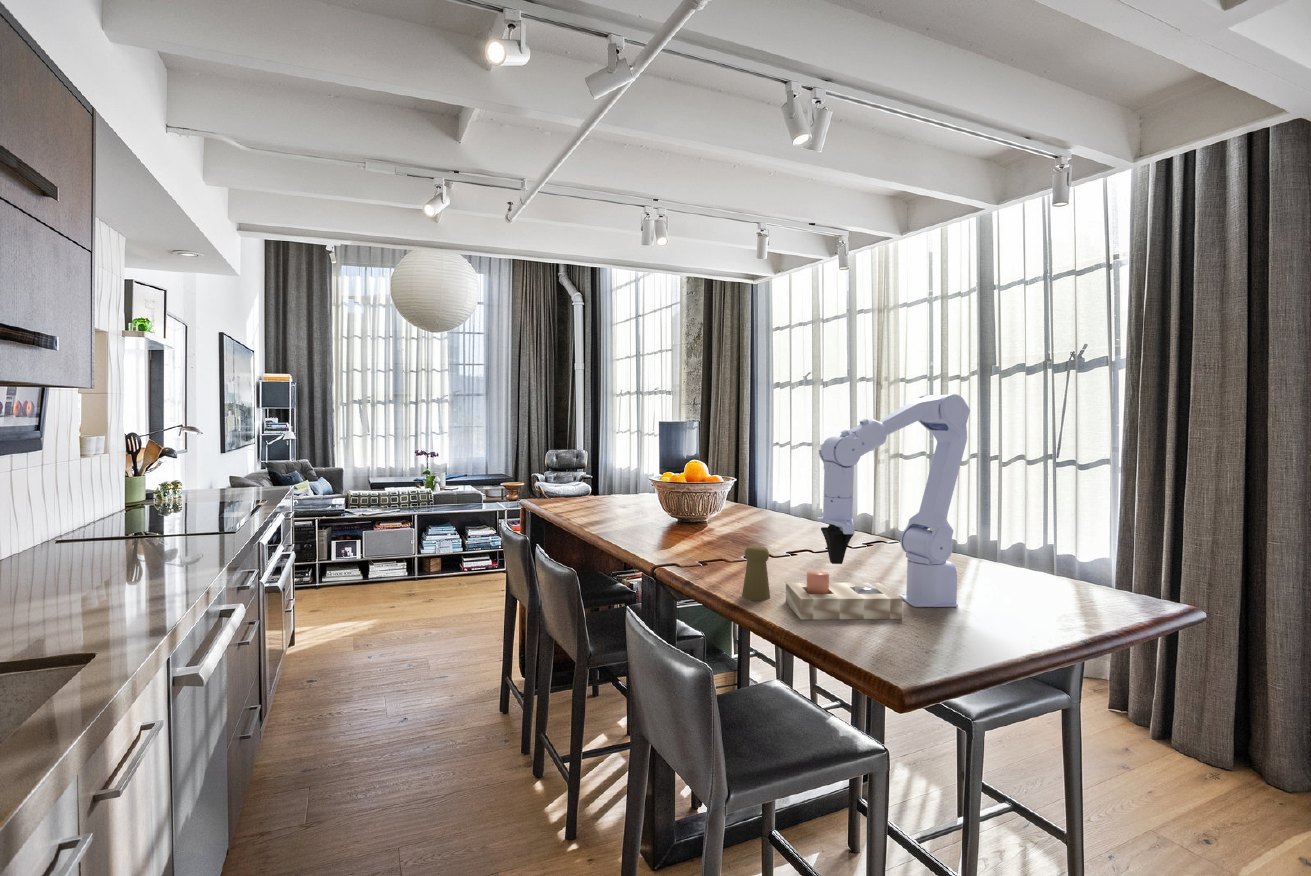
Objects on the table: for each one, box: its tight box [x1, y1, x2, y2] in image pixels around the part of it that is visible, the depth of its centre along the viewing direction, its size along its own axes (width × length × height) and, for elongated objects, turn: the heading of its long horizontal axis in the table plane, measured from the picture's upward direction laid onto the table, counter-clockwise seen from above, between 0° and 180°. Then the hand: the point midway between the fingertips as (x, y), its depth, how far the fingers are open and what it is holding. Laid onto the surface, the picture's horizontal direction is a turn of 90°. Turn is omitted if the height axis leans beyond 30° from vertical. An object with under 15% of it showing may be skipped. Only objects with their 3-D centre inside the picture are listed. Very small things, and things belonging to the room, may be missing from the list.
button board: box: [785, 582, 903, 620], centre depth 136 cm, size 20×12×4 cm, turn 93°
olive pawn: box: [741, 544, 771, 601], centre depth 145 cm, size 6×6×11 cm
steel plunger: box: [855, 585, 878, 594], centre depth 137 cm, size 4×4×4 cm
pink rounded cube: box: [806, 570, 830, 594], centre depth 136 cm, size 4×4×4 cm
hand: (836, 563), depth 136 cm, fingers closed
